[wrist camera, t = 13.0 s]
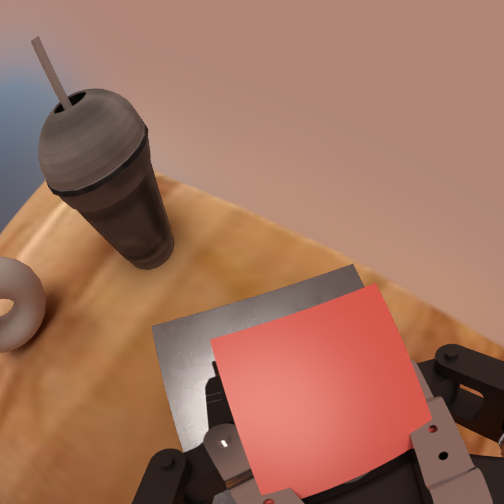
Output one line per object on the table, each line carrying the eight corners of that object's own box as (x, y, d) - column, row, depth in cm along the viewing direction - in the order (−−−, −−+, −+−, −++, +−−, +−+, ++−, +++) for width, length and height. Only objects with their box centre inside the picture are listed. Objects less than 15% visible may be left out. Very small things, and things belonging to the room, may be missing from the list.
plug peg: (334, 419, 15) (436, 431, 5) (267, 443, 15) (266, 508, 4) (311, 358, 17) (375, 282, 7) (245, 380, 17) (209, 339, 7)
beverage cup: (155, 299, 22) (-5, 74, 5) (101, 260, 25) (-27, 82, 7) (205, 233, 25) (139, -6, 8) (148, 204, 28) (70, 15, 10)
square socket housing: (395, 441, 16) (428, 447, 11) (225, 502, 14) (213, 528, 10) (336, 293, 22) (352, 263, 18) (175, 343, 21) (151, 326, 16)
